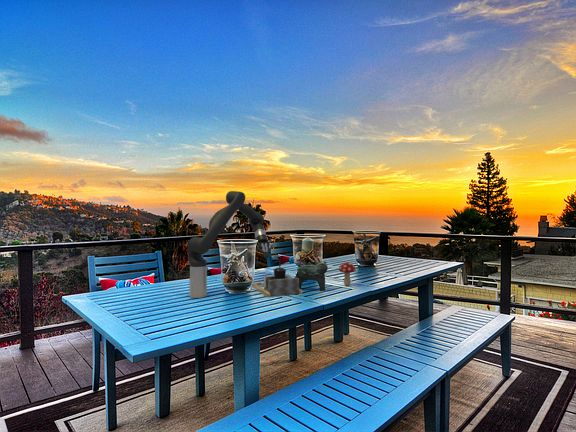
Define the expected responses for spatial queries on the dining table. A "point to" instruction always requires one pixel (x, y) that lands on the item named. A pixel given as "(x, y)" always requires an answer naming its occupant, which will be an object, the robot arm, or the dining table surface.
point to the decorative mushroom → (347, 272)
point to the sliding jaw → (271, 279)
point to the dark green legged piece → (312, 273)
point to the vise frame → (279, 287)
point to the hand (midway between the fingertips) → (266, 257)
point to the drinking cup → (279, 272)
